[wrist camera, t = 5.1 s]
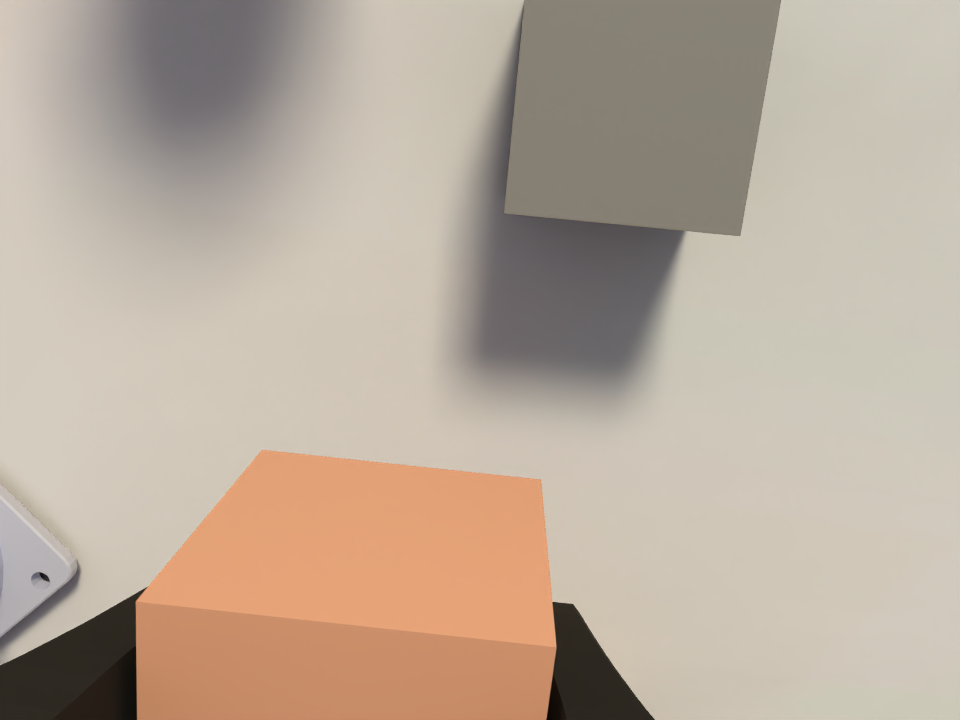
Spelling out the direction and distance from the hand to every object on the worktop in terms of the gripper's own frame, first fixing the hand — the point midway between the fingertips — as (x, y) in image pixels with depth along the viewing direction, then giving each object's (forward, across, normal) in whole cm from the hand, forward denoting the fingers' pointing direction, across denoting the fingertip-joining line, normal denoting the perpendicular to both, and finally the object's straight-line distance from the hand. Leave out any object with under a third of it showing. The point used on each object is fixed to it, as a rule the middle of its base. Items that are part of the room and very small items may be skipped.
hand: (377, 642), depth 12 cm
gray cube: (+10, -4, -8) cm, 13 cm away
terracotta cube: (+2, 0, 0) cm, 2 cm away
